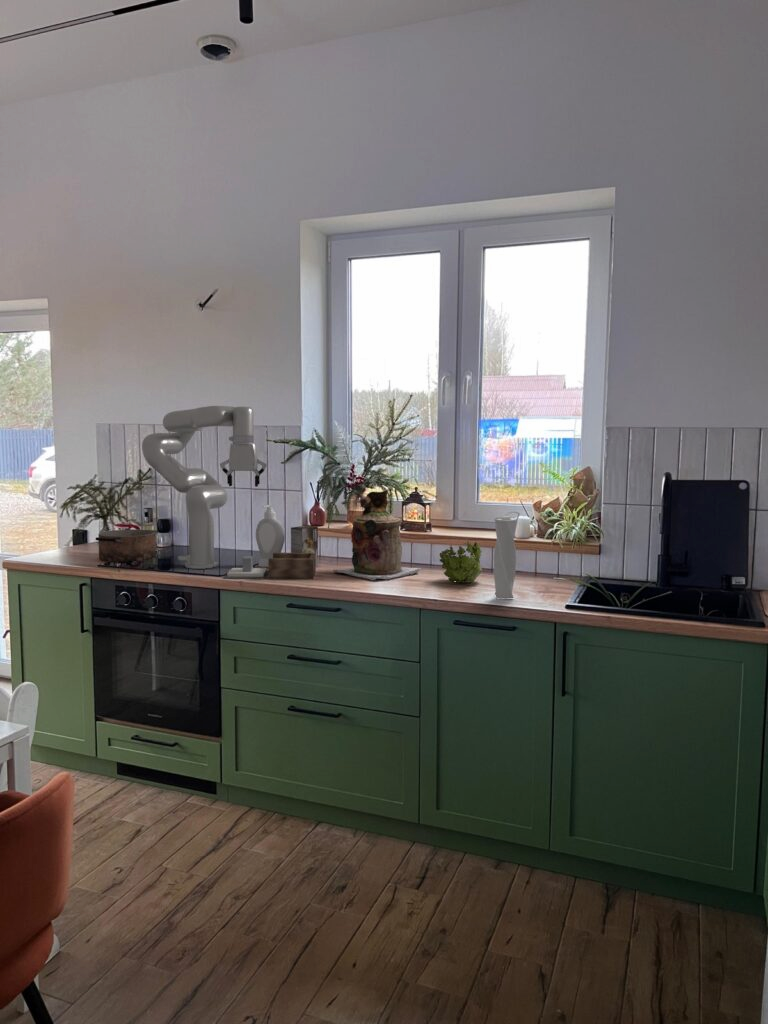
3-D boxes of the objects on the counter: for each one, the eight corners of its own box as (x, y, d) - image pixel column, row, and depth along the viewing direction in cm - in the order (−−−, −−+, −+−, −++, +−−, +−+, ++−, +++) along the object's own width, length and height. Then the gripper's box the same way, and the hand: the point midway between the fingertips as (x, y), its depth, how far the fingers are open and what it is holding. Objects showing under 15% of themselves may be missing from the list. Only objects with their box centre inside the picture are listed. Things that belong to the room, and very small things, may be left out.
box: (268, 578, 273) (268, 559, 272) (273, 571, 288) (273, 552, 287) (313, 579, 274) (313, 559, 273) (315, 571, 288) (315, 553, 288)
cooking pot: (123, 566, 296) (122, 538, 295) (79, 561, 305) (78, 535, 304) (173, 555, 324) (172, 530, 323) (131, 551, 332) (131, 527, 331)
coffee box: (306, 565, 303) (306, 525, 302) (318, 566, 300) (318, 526, 298) (290, 568, 296) (290, 527, 294) (302, 569, 292) (302, 528, 291)
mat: (223, 578, 273) (223, 577, 273) (231, 571, 288) (231, 570, 288) (265, 578, 273) (265, 577, 273) (270, 571, 288) (270, 570, 288)
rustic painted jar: (375, 565, 304) (376, 486, 301) (422, 574, 287) (424, 489, 284) (330, 573, 286) (331, 488, 283) (377, 582, 269) (378, 492, 266)
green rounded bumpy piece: (493, 574, 261) (459, 545, 258) (462, 601, 268) (428, 573, 265) (494, 550, 277) (462, 522, 274) (464, 576, 284) (433, 549, 281)
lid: (227, 576, 275) (227, 559, 274) (232, 571, 286) (232, 554, 285) (263, 576, 275) (263, 559, 274) (267, 571, 286) (267, 555, 285)
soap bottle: (249, 567, 296) (248, 505, 294) (259, 564, 303) (259, 503, 301) (278, 569, 291) (278, 506, 289) (288, 566, 299) (288, 505, 296)
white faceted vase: (514, 595, 251) (516, 510, 248) (519, 600, 243) (521, 513, 241) (490, 594, 251) (492, 510, 248) (494, 599, 243) (496, 512, 240)
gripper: (217, 440, 278) (218, 486, 280) (265, 440, 279) (265, 487, 280) (221, 439, 286) (222, 485, 287) (267, 440, 286) (268, 485, 288)
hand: (243, 486), depth 284 cm, fingers open, 9 cm apart
